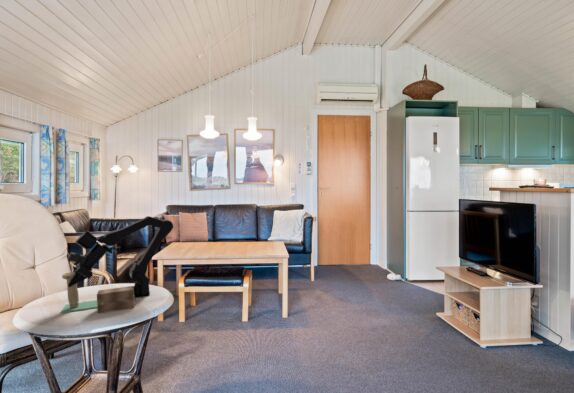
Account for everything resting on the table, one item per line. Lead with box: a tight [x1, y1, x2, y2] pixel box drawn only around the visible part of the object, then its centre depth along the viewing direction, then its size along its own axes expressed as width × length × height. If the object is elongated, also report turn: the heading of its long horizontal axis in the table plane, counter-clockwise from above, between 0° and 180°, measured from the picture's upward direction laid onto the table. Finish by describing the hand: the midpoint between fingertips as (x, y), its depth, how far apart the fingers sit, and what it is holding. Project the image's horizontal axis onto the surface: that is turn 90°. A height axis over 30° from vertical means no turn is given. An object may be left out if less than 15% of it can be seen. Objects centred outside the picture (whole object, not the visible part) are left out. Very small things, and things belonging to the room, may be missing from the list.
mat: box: [60, 299, 98, 314], centre depth 156 cm, size 14×10×1 cm
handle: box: [62, 271, 80, 308], centre depth 153 cm, size 5×6×15 cm
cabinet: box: [96, 285, 135, 314], centre depth 152 cm, size 14×8×8 cm, turn 111°
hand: (68, 285), depth 152 cm, fingers closed on handle, 5 cm apart
